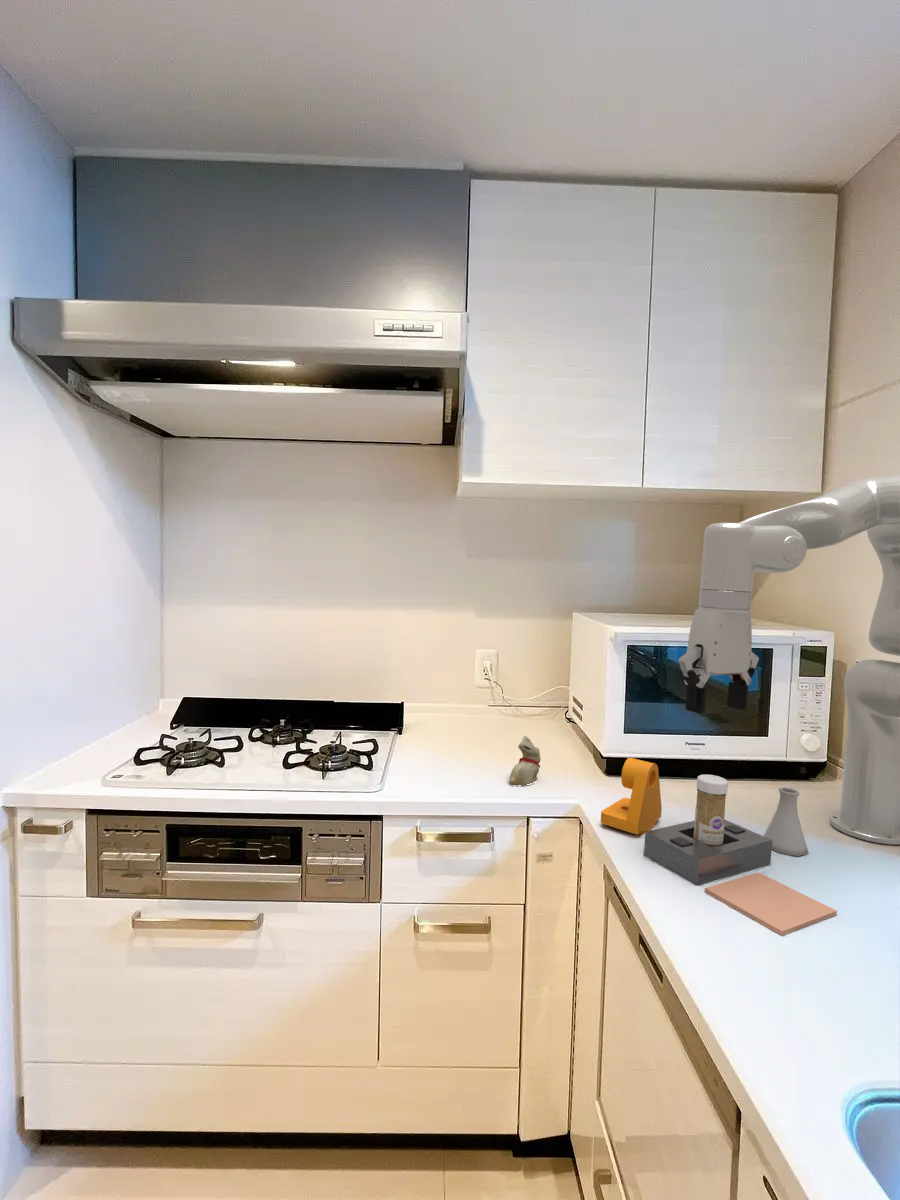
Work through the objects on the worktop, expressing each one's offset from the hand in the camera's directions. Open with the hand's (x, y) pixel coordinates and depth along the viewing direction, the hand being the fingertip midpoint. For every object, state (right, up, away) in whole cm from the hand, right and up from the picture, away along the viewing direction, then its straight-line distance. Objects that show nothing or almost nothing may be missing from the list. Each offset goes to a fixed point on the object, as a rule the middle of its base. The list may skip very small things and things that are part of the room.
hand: (716, 709), depth 102 cm
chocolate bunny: (-26, -22, +35) cm, 49 cm away
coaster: (+3, -25, -11) cm, 28 cm away
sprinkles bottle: (-1, -25, +2) cm, 25 cm away
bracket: (-10, -24, +15) cm, 29 cm away
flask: (+15, -25, +8) cm, 30 cm away
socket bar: (-1, -24, +2) cm, 24 cm away
